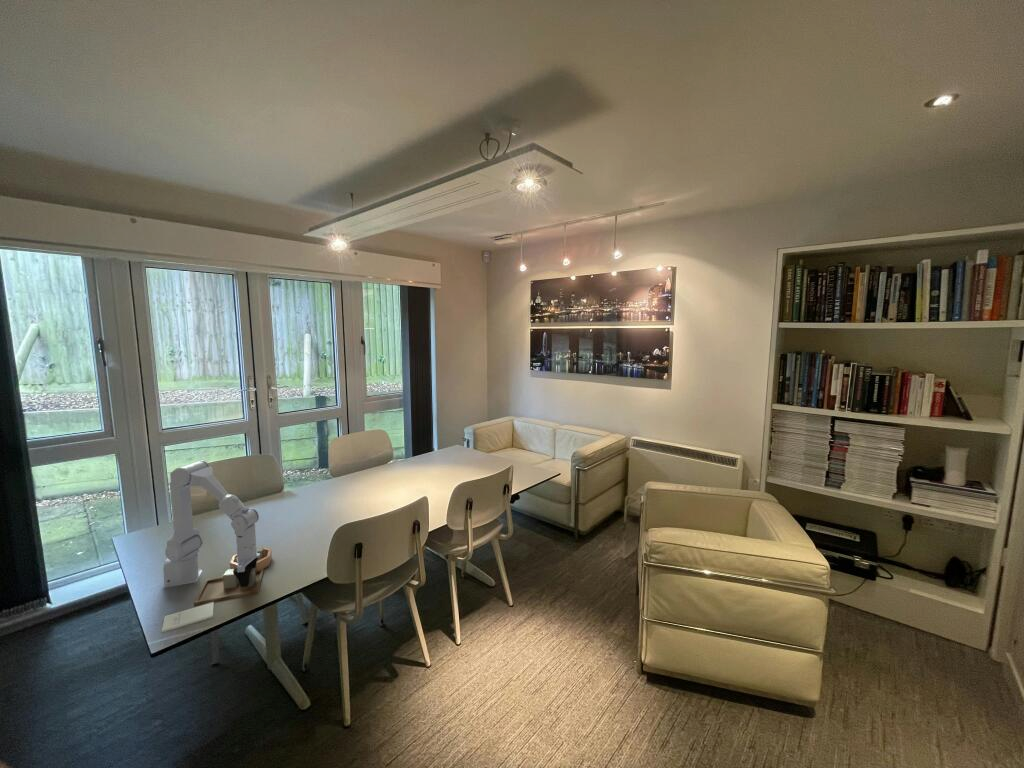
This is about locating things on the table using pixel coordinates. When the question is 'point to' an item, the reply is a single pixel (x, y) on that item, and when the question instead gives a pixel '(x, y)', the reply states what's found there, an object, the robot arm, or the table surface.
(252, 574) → the stone
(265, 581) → the table surface
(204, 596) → the tray
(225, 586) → the stone
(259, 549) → the stone
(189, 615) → the external hard drive
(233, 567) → the bowl
